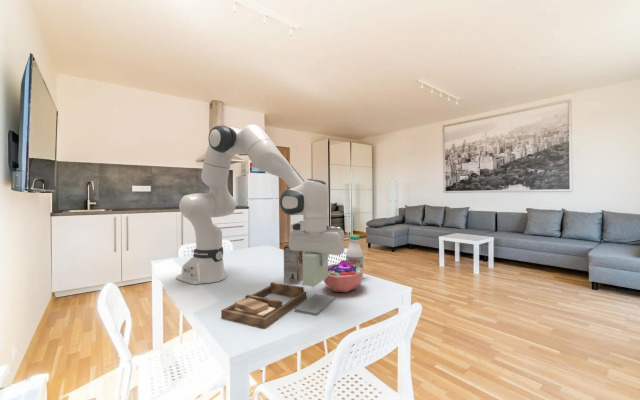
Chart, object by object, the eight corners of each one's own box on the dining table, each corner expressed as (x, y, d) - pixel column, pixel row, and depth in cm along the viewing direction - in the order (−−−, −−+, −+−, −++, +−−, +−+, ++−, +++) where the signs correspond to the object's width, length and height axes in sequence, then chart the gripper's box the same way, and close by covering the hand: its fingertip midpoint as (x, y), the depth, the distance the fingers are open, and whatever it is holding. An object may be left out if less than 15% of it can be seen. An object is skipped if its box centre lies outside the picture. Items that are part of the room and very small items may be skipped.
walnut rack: (221, 318, 88) (221, 305, 88) (269, 291, 112) (269, 281, 112) (264, 328, 82) (264, 314, 82) (306, 298, 106) (306, 287, 105)
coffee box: (289, 277, 132) (289, 243, 132) (303, 278, 131) (303, 243, 131) (283, 283, 123) (283, 246, 123) (297, 284, 122) (297, 247, 122)
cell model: (312, 293, 111) (312, 264, 110) (333, 280, 128) (334, 255, 128) (353, 301, 103) (353, 270, 102) (370, 285, 120) (370, 259, 120)
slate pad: (294, 311, 94) (294, 309, 94) (315, 295, 108) (315, 293, 108) (316, 315, 90) (316, 313, 90) (334, 298, 105) (334, 296, 105)
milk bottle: (344, 276, 134) (344, 234, 133) (360, 276, 134) (361, 234, 134) (347, 281, 126) (347, 236, 125) (364, 281, 127) (364, 236, 126)
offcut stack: (230, 316, 90) (230, 302, 90) (246, 309, 96) (246, 296, 96) (261, 326, 84) (261, 311, 84) (276, 317, 90) (276, 303, 90)
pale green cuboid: (302, 285, 95) (302, 255, 94) (317, 275, 106) (317, 249, 105) (313, 286, 93) (313, 256, 93) (327, 277, 104) (327, 250, 104)
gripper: (347, 226, 97) (347, 266, 98) (295, 223, 106) (295, 260, 106) (340, 228, 92) (340, 270, 92) (286, 225, 100) (286, 264, 100)
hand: (315, 265), depth 99 cm, fingers closed on pale green cuboid, 4 cm apart
